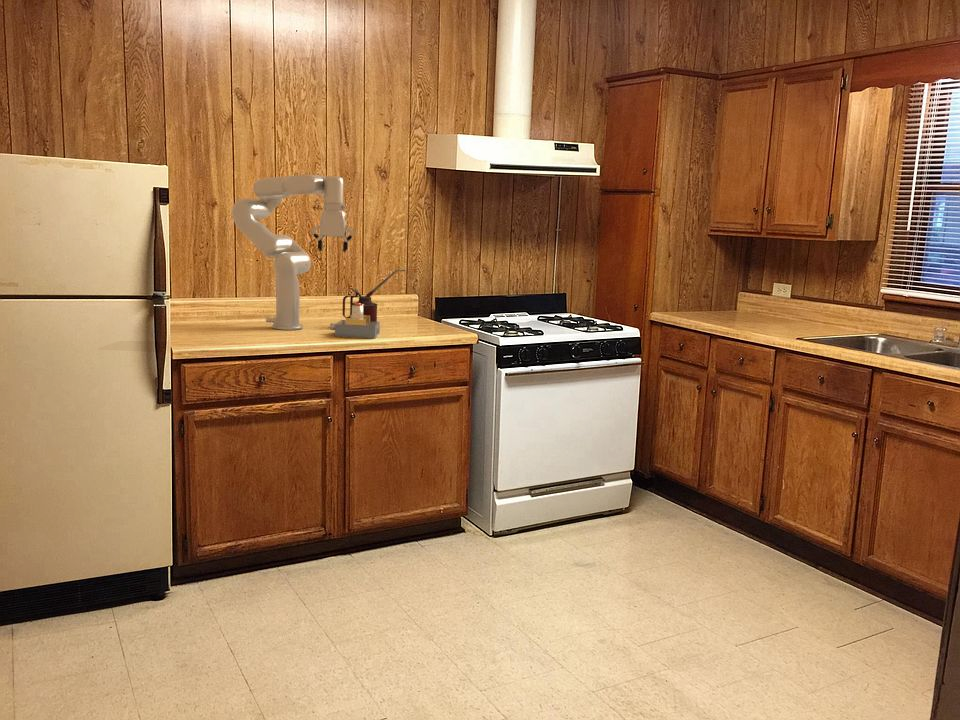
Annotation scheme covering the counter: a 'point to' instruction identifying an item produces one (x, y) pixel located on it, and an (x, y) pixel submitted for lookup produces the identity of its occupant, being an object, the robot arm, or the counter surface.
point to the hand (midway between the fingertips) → (332, 251)
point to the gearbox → (356, 327)
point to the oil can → (366, 301)
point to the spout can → (357, 311)
